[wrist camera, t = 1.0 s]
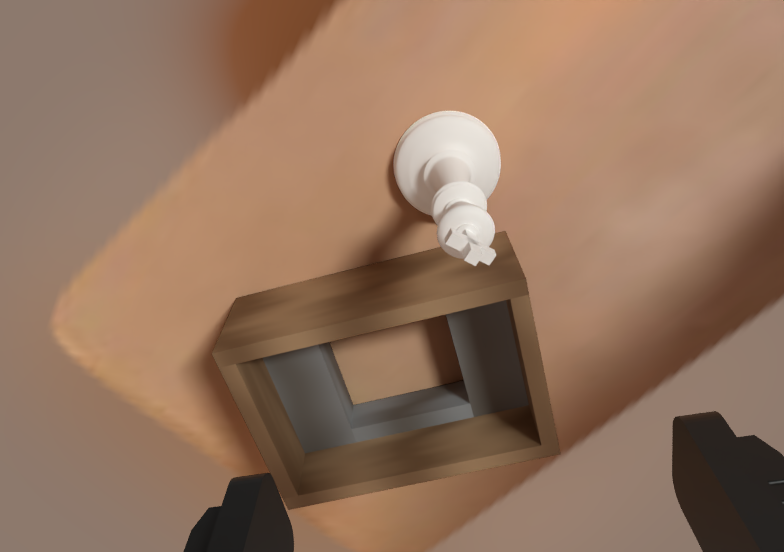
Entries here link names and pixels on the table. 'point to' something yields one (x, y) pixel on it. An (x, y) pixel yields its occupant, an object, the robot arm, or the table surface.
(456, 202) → the chess piece
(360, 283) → the walnut box
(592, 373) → the table surface
